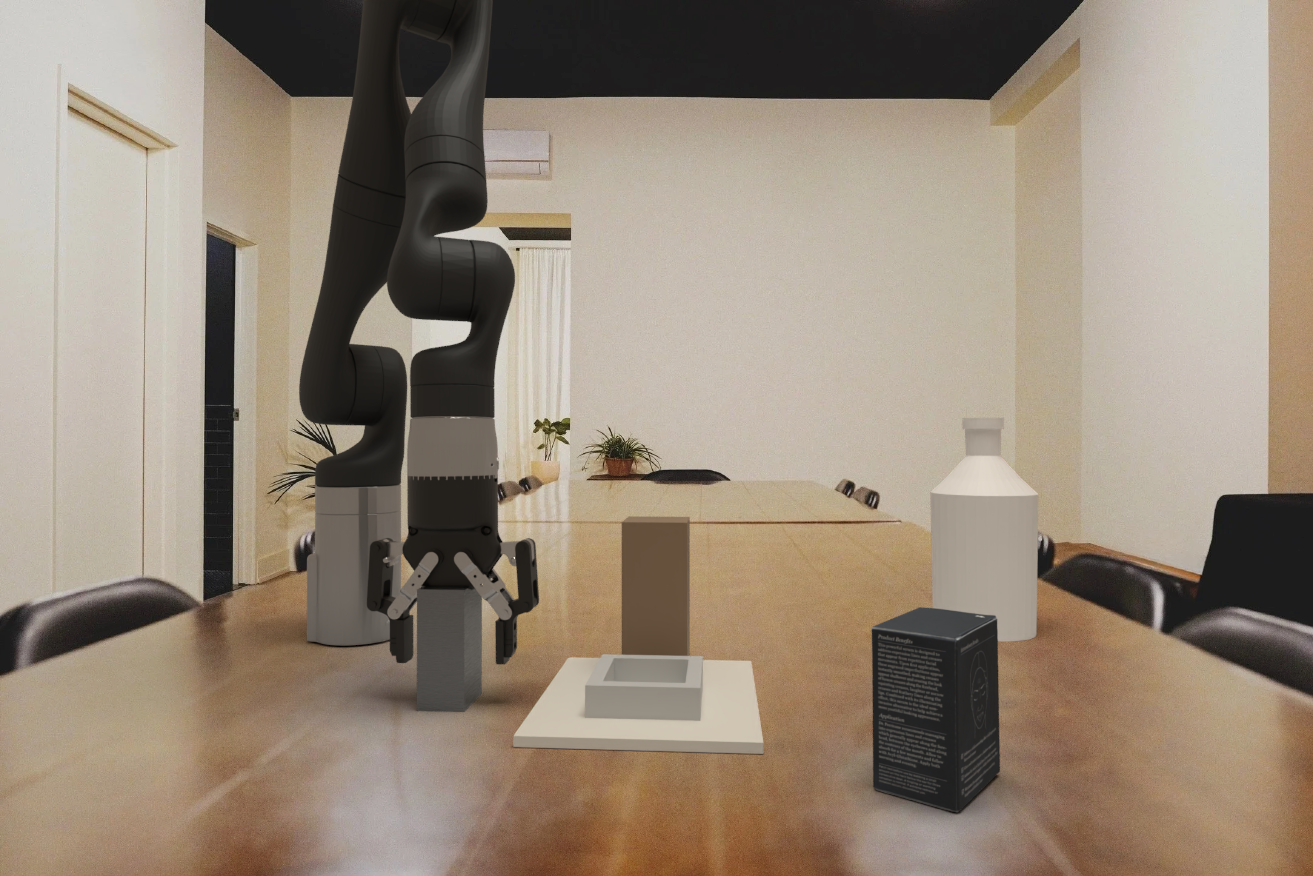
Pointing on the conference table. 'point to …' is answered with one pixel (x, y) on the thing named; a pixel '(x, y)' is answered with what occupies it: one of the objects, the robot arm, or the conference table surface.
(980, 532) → the bottle
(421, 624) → the tall grey pillar block
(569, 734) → the post base
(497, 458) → the robot arm
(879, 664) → the box
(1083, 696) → the conference table surface
